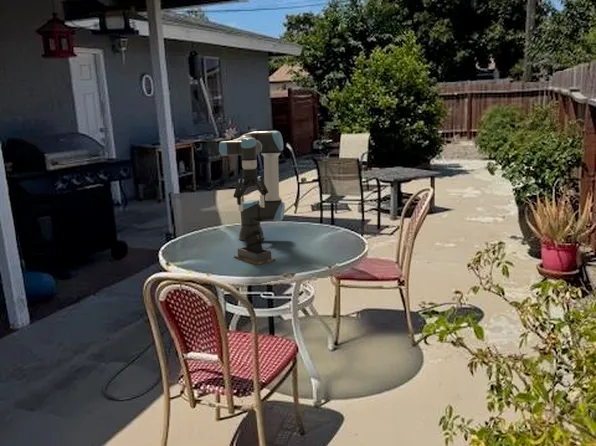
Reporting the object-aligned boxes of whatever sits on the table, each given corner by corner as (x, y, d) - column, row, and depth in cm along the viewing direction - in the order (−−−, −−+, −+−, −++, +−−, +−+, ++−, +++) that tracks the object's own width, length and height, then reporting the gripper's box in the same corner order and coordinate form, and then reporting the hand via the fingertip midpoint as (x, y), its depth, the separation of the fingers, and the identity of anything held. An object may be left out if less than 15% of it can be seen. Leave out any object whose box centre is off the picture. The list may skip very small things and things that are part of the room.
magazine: (260, 258, 285) (253, 230, 287) (249, 264, 296) (242, 237, 298) (267, 257, 287) (259, 229, 289) (255, 262, 298) (248, 236, 300)
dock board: (252, 253, 306) (252, 251, 306) (275, 260, 290) (275, 258, 290) (234, 257, 299) (234, 255, 298) (256, 265, 283) (256, 263, 282)
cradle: (251, 252, 304) (251, 245, 303) (271, 258, 290) (271, 251, 289) (237, 255, 298) (237, 248, 297) (257, 262, 284) (256, 254, 284)
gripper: (233, 171, 275) (235, 213, 279) (273, 166, 290) (275, 206, 295) (225, 170, 281) (227, 211, 285) (265, 165, 296) (266, 204, 300)
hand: (251, 209), depth 290 cm, fingers open, 13 cm apart
